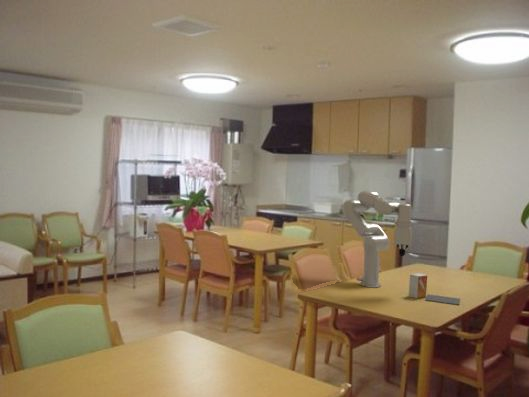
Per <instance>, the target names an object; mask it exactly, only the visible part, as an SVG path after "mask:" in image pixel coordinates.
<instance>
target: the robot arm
mask: <svg viewBox="0 0 529 397" xmlns="http://www.w3.org/2000/svg"><path fill="white" fill-rule="evenodd" d="M371 209H373V210H374V211H376V213H379V214H382V215H384V216H397V219H396V220H397V221H395V222H394V225H396V226H395V227H394V233H393V243H392V244H393V246H395V247H397V248H398V249H399V251H398V252H399V254H398V255H399V256H400V257H404V256H405V255H406V249H407V248H412V247H413V229H412V228H413V227H411V221H412V205H411V204H409V203H402V202H387V201H384V200H383V197H382V196H380V195H379V193H378V192H377V191H374V190H373V191H372V190H363V191H360V192H359V193H358V195H357V199H356V198H355V199H354V198H353V199H348V200H345V201H344V203H343V205H342V214H343V215H344V217H345V219H346V220H347V221H348V222H349V223H350V225H351V226H352V228H353V230H354V231H355V232H356V234H358V236H359V237H360V238H362V239H363V242H362V243H363V252H364V254H363V255H364V256H363V257H364V258H363V277H362V276H361V277H357V276H356V281H358V282H360V286H363V287H366V288H367V287H368V288H380V287H381V286H382V284H381V283H380V281H379V278H380V260H381V258H380V254H379V252H378V251H384V250H387V249H389V248H390V243H391V242H390V239H389V237H388V236H387V234H386V233H385V232H384V230H383V229H382V227H381V226H380V225H379V224H377V223H375V222H367V221H366V220H365V219H364V218H363V216H361V214H359V213H364V212H367V211H368V210H371Z"/></svg>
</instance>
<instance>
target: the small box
mask: <svg viewBox="0 0 529 397" xmlns="http://www.w3.org/2000/svg"><path fill="white" fill-rule="evenodd" d="M427 283H428V275H427V274H425V273H420V272H419V273H410V274H409V283H408V284H409V285H408V287H409V288H408V297H410V298H414V299H421V298H426V296H427V287H428V286H427Z"/></svg>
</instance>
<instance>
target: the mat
mask: <svg viewBox="0 0 529 397" xmlns="http://www.w3.org/2000/svg"><path fill="white" fill-rule="evenodd" d="M424 301H426V302H433V303H440V304H446V305H447V304H448V305H452V306H453V305H454V306H460V302H461V298H459V297H450V296H444V295H443V296H442V295H434V294H429V293H426V297H425V298H424Z"/></svg>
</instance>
